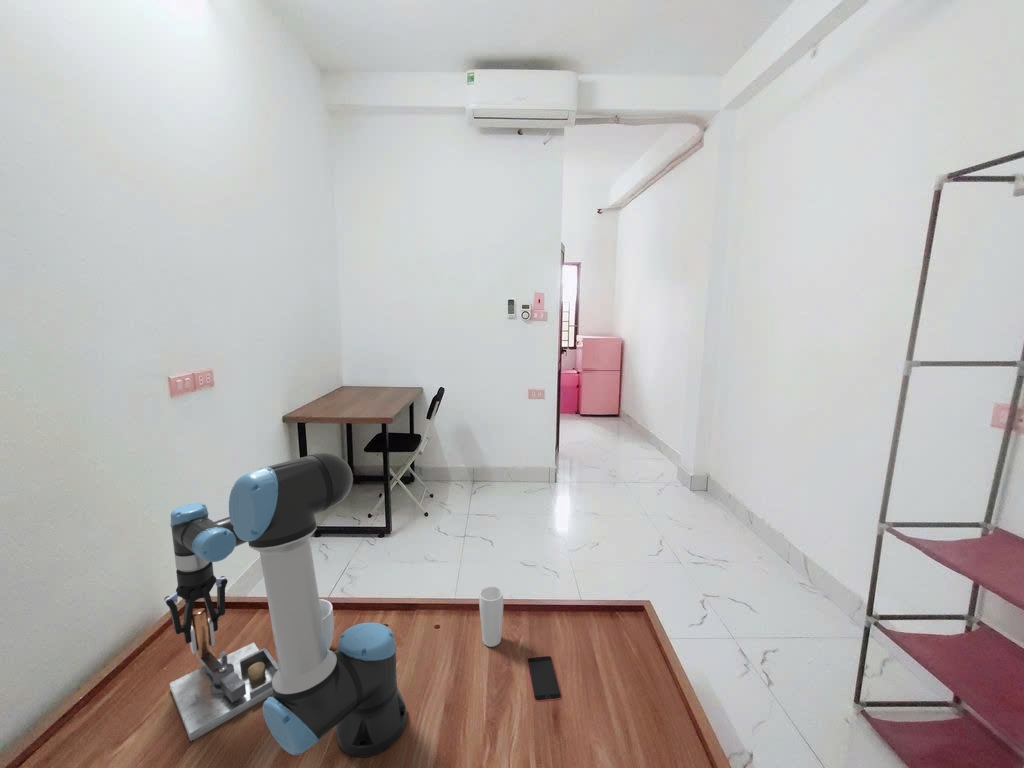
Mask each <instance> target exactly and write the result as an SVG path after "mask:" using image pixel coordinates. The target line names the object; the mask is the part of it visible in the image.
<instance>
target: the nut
mask: <svg viewBox="0 0 1024 768" xmlns="http://www.w3.org/2000/svg"><path fill="white" fill-rule="evenodd" d="M248 675H249V683H250V684H251V685H256V684H259V683H261V682H262V681H263V680H264V679H265V677H266V674H265V665H264V663H263V662H257V663H255V664H253V665H251V666H250V667H249V669H248Z"/></svg>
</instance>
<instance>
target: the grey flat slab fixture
mask: <svg viewBox="0 0 1024 768" xmlns="http://www.w3.org/2000/svg"><path fill="white" fill-rule="evenodd" d="M219 656H220V658H219V659H218V658H217V660H218V661H219V662H220V663H221V664H222V665H224V664H232V665H233V666H234V672H235V673H236V674H237V676H238V677H239V678H240V679H241V680H242V681H243V682H244V683H245V688H246V694H245V695H244V696H242V697H241V698H239V699H237V700H236V701H234V702H233V703H232V702H231V700H230V699H229V698H228V697H227V696H226V695H225V693H224V692H223V691H222V690H221V689H217V688H215V687H214V683H213V677H212V676H211V675H210V673H209V672H208V671H207V670H206V669H205V668H204V666H202V667H199V668H197V669H195V670H193V671H192V672H189V673H187V674H185V675H184V676H183V675H182V676H180V677H179V678H177V679H175V680H173V681H171V682H169V688H170V692H171V694H172V698H173V700H174V703H175V705H176V708H177V711H178V713H179V716H180V718H181V720H182V721H181V722H182V724H183V726H184V728H185V731H186V734H187V737H188V739H189V742H190V741H191V742H193V741H194V740H196V739H198V738H200V737H201V736H203V735H205V734H206V733H208V732H210V731H212V730H213V729H216V728H217V727H219V726H220V725H222V724H224V723H225V722H227V721H229V720H231V719H232V718H234V717H236V716H237V715H240V714H241V713H243V712H244V711H247V710H248V709H250V708H251V707H253V706H256V705H257V704H258V703H261V701H263V700H265V699H267V698H268V697H270V696H273V687H272V679H273V677H274V675H275V673H276V672H277V670H278V669H279V666H278V662H276V660H275V659H274V657H273V656H272V654H271V653H270V651H268V649H267V648H266V647H263V648H261V649H259V647H257V645H256V643H255V642H251V643H249V644H247V645H245V646H243V647H241V648H239V649H236V650H235V651H232V652H231V653H228V654H227V652H226V651H225V650H224V651H221V652H219ZM257 662H263V663H264V665H265V674H266V677H265V679H264V680H263V681H262V682H261V683H259V684H256V685H251V684H250V683H249V675H248V669H249V667H250V666H251V665H253V664H255V663H257ZM192 740H193V741H192Z"/></svg>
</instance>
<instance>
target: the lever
mask: <svg viewBox="0 0 1024 768" xmlns="http://www.w3.org/2000/svg"><path fill="white" fill-rule="evenodd" d="M208 618H209V617H208V610H207V608H204V607H201V608H198V609H195V610H193V615H192V627H193V629H194V630H195V639H196V649H197V653H196V658H197V660H198V662H199V664H201V665H202V667H204V668H205V669H206V670H207V671H208V672H209V673H210V675H211V676H212V677H213V683H214V687H215V688H217V689H221V690H222V691H223V692H224V693H225V695H226V696H227V697H228V698H229V699H230V700H231V702H232V703H233V702H234V701H236V700H237V699H239V698H241V697H242V696H244V695H245V694H246V688H245V683H244V682H243V681H242V680H241V679H240V678H239V677H238V676H237V674H236V673H235V672H234V666H233V665H232V664H224V665H222V664H221V663H220V662H219V661H218V658H217V657H216V656H215V655H213V653H212V651H213V650H212V646H211V642H210V633H209V625H208Z"/></svg>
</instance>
